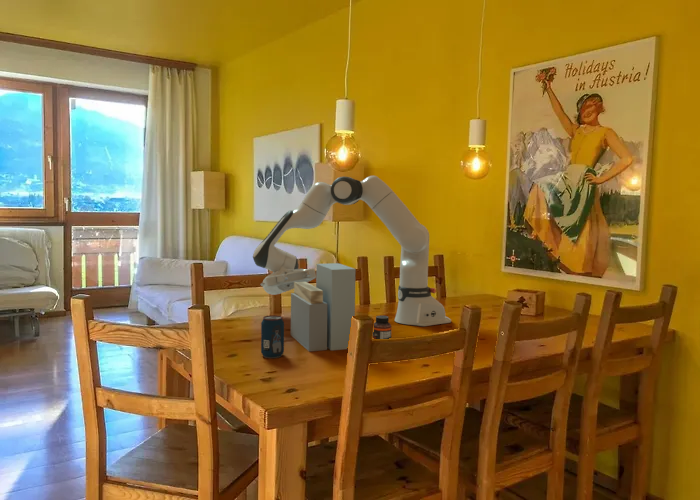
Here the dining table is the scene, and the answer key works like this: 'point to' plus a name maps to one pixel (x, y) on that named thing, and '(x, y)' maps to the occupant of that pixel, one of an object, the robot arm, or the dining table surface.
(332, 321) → the grey tall block
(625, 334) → the dining table surface
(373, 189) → the robot arm
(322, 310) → the step
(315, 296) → the bar
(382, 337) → the supplement bottle
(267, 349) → the soda can
